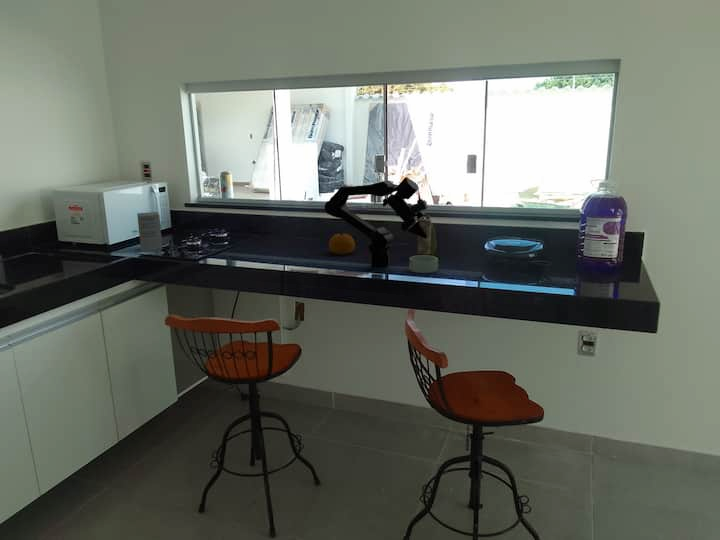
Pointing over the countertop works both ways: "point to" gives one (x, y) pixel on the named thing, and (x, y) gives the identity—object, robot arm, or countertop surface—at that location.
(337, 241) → the fruit
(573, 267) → the countertop surface
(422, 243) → the birch post
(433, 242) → the squeeze bottle
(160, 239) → the supplement box
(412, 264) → the celadon cup
